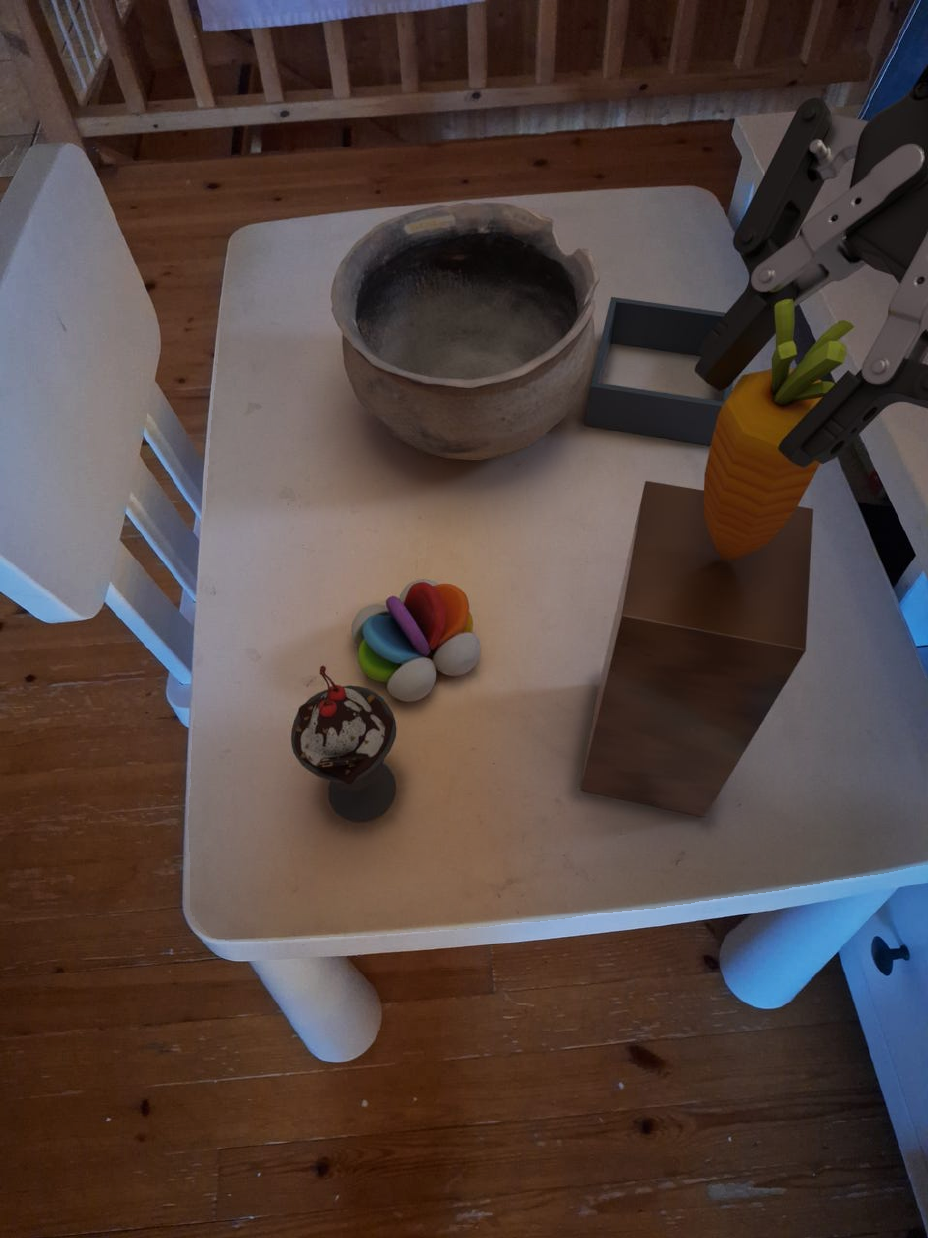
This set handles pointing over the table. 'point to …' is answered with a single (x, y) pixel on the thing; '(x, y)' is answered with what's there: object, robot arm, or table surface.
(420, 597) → the rainbow cloud toy
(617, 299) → the square storage tray
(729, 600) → the block
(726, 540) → the carrot
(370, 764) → the sundae
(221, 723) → the table surface
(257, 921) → the table surface
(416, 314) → the ceramic bowl
